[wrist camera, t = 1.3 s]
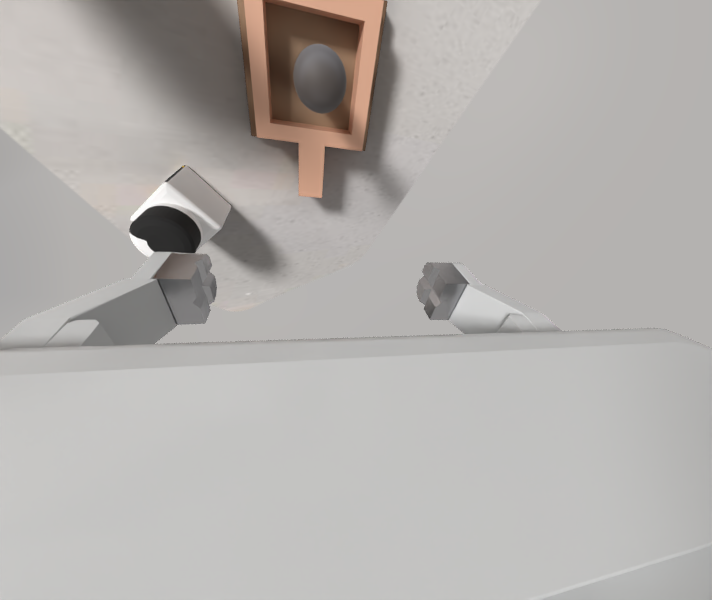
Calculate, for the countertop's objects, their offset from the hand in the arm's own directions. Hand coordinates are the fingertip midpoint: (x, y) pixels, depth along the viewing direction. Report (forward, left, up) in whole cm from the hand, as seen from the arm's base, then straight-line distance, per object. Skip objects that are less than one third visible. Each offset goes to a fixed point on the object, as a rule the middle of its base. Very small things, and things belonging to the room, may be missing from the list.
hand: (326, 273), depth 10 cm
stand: (-5, 0, -31) cm, 31 cm away
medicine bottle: (+11, -16, -31) cm, 37 cm away
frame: (-2, 0, -29) cm, 29 cm away
